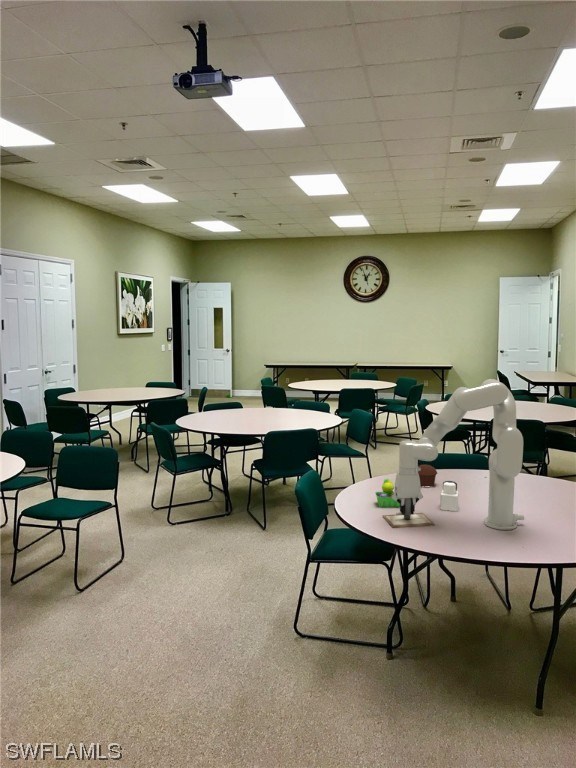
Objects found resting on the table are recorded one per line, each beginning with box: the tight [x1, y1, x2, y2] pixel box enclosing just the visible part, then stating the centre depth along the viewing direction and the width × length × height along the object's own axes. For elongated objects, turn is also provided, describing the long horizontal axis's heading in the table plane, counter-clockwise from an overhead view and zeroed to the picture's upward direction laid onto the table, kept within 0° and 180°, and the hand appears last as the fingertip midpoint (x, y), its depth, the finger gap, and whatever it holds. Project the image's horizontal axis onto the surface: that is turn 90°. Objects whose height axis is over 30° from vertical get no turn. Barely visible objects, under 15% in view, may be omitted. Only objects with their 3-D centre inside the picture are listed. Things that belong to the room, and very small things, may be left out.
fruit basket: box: [375, 478, 400, 508], centre depth 255 cm, size 11×9×11 cm
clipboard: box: [382, 511, 436, 529], centre depth 235 cm, size 18×13×2 cm
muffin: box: [418, 464, 438, 487], centre depth 285 cm, size 12×11×10 cm
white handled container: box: [440, 480, 459, 512], centre depth 250 cm, size 7×7×12 cm
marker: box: [404, 498, 411, 520], centre depth 235 cm, size 3×3×12 cm
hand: (407, 513), depth 235 cm, fingers closed on marker, 3 cm apart
